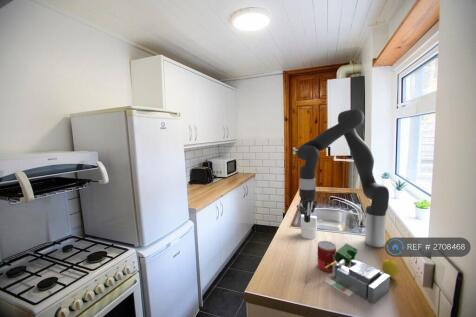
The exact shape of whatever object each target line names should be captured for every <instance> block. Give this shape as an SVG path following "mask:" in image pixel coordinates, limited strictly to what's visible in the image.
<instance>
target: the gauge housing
mask: <svg viewBox="0 0 476 317" xmlns="http://www.w3.org/2000/svg"><path fill="white" fill-rule="evenodd" d="M348 268H349V272H347V271H345V270H343V269H341V268H338V269H337V277H335V279H336V281H335V282H337V283H339V284H340V285H342V286H344V287H346V288H347V289H349V290H350V291H352V292H354V293H353V294H354V295H356V296H358V297H360V298H362V299H363V300H365V301H367V302H368V303H371V304H372V305H374V304H375V303H376V302H377V301H378V300H380V299H381V298H382V297H383V296H384V295H385V294H387V293H388V292H389V291H390V281H391V280H390V279H391V277H390V276H389V275H387V274H385V273H384V272H383V271H381V270H380V269H377V268H375V267H373V266H371V265H368V264H366V263H364V262H361V261H358V260H356V259H355V258H354V259H353V260H352V259H351V261H350V267H348Z"/></svg>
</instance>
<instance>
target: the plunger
mask: <svg viewBox="0 0 476 317" xmlns="http://www.w3.org/2000/svg"><path fill="white" fill-rule="evenodd" d="M345 265H346V263H345V260H343V259H342V260H341V261H340V262H339V263H338V262H337V261H334V262H333V263H331V264H329V265H327V266H326V267H325V268H326V269H327V268H329V267H331V266H333V272H332V274H331V275H332V276H333V278H336V277H337V269H338V268H341V269H343V270H345V271H347V272H349V268H350V267H347V266H345Z"/></svg>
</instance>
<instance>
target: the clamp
mask: <svg viewBox="0 0 476 317" xmlns="http://www.w3.org/2000/svg"><path fill="white" fill-rule="evenodd" d="M358 251H359V250H358V249H357V248H356V247H354V246H352V245H350V244H348V243H345V244H344V245H342V246H341V247H340V248H339V249H338V250H336V261H337V263H339V262H340V261H341V260H342V259H343V260H345V264H347V265H351V260H353V259H354V260H355V257H356V255H357V254H358Z"/></svg>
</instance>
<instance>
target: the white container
mask: <svg viewBox="0 0 476 317" xmlns="http://www.w3.org/2000/svg"><path fill="white" fill-rule="evenodd" d="M300 216H301V217H300V236H301V237H302V238H303V237H304V239H306V238H307V239H306V240H314V238H315V239H316V238H318V236H317V235H318V234H317V233H318V228H317V226H318V216H315V215H310V222H308V223H307V222H305V221H304V214H301V215H300Z"/></svg>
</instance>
